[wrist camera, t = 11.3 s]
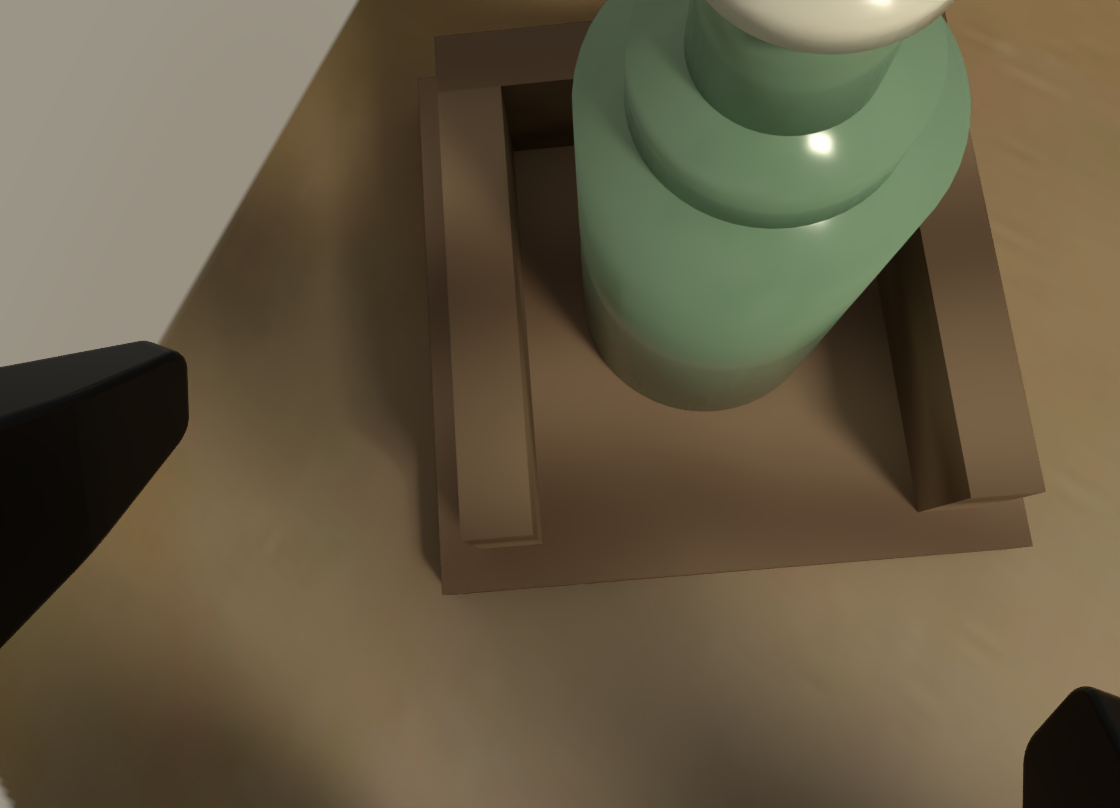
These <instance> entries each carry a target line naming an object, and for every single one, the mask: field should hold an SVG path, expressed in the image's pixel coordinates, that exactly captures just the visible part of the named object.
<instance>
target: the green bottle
mask: <svg viewBox="0 0 1120 808" xmlns="http://www.w3.org/2000/svg"><path fill="white" fill-rule="evenodd" d="M954 1H955V0H607V1H606V2H605V4H604V5H603V6H602V7H601V9H600V10H599V12H598V14H597V15H596V17H595V19H594V20H593V22H592V24H591V25H590V27H589V29H588V32H587V34H586V36H585V39H584V41H583V43H582V46H581V48H580V52H579V56H578V59H577V63H576V67H575V71H574V80H573V89H572V108H573V128H574V145H575V162H576V179H577V196H578V213H579V230H580V247H581V264H582V281H583V298H584V311H585V317H586V323H587V326H588V329H589V332H590V336H591V338H592V340H593V343H594V345H595V347H596V349H597V351H598V352H599V354H600V356H601V357H602V359H603V360H604V362H605V363H606V364H607V366H608V367H609V368H610V369H611V370H612V371H613V373H614V374H615V375H616V376H617V377H618V378H619V379H621V380H622V381H623V382H624V383H625V384H626V385H627V386H629V387H630V388H632V389H633V390H635V391H636V392H638V393H639V394H641V395H643V396H645V397H647V398H648V399H650V400H652V401H654V402H657V403H660V404H663V405H666V406H668V407H672V408H677V409H681V410H688V411H699V412H705V411H720V410H726V409H732V408H735V407H739V406H742V405H745V404H748V403H750V402H753V401H755V400H757V399H759V398H762V397H763V396H765V395H766V394H768V393H770V392H771V391H773V390H774V389H776V388H777V387H778V386H779V385H781V384H782V383H783V382H784V381H785V380H787V378H788V377H789V376H790V375H791V374H792V373H793V372H794V371H795V370H796V369H797V368H798V366H799V365H800V364H801V363H802V362H803V361H804V359H805V358H806V357H807V356H808V355H809V354H810V352H811V351H812V350H813V349H814V348H815V347H816V346H817V344H818V343H819V342H820V341H821V340H822V339H823V337H824V336H825V335H826V334H827V333H828V332H829V330H830V329H831V328H832V327H833V326H834V325H835V324H836V322H837V321H838V320H839V319H840V318H841V317H842V315H843V314H844V313H845V312H846V311H847V310H848V308H849V307H850V306H851V305H852V304H853V303H854V302H855V300H856V299H857V298H858V297H859V296H860V295H861V293H862V292H863V291H864V290H865V289H866V288H867V286H868V285H869V284H870V283H871V282H872V281H873V279H874V278H875V277H876V276H877V275H878V274H879V273H880V271H881V270H882V269H883V268H884V267H885V266H886V264H887V263H888V262H889V261H890V260H891V259H892V257H893V256H894V255H895V254H896V253H897V252H898V251H899V249H900V248H901V247H902V246H903V245H904V244H905V242H906V241H907V240H908V239H909V238H910V237H911V235H912V234H913V233H914V232H915V231H916V230H917V228H918V227H919V226H920V225H921V224H922V223H923V222H924V220H925V219H926V218H927V217H928V216H929V215H930V213H931V212H932V211H933V210H934V209H935V208H936V206H937V205H938V203H939V202H940V200H941V199H942V197H943V196H944V194H945V193H946V192H947V190H948V189H949V187H950V185H951V183H952V181H953V179H954V177H955V175H956V173H957V171H958V168H959V166H960V164H961V160H962V157H963V154H964V151H965V148H966V144H967V139H968V133H969V126H970V120H971V96H970V89H969V83H968V76H967V71H966V68H965V64H964V61H963V58H962V55H961V51H960V49H959V47H958V44H957V42H956V40H955V38H954V36H953V34H952V32H951V29H950V28H949V26H948V25H947V23H946V22H945V20H944V18H943V17H942V14H943V13H944V12H945V11H946V10H947V9H948V8H949V7H950V6H951V5H952V3H953V2H954Z"/></svg>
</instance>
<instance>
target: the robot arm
mask: <svg viewBox="0 0 1120 808" xmlns="http://www.w3.org/2000/svg"><path fill="white" fill-rule="evenodd" d="M188 421H189V405H188V377H187V364H186V361H185V359H184V357H183V356H182V355H181V354H180V353H178V352H177V351H174V350H171V349H169V348H166V347H163V346H160V345H158V344H155V343H152V342H148V341H138V342H133V343H127V344H122V345H116V346H111V347H106V348H100V349H95V350H90V351H85V352H79V353H74V354H68V355H63V356H58V357H52V358H47V359H42V360H36V361H31V362H26V363H21V364H15V365H10V366H4V367H0V648H1V647H2V646H3V645H4V644H5V643H6V642H7V641H8V640H9V639H10V638H11V637H12V636H13V635H14V634H15V633H16V632H17V631H18V630H19V629H20V628H21V627H22V626H23V625H24V623H25V622H26V621H27V620H28V619H29V618H30V617H31V616H32V615H33V614H34V613H35V612H36V611H37V610H38V609H39V608H40V607H41V606H42V605H43V604H44V603H45V602H46V601H47V600H48V599H49V598H50V597H51V596H52V595H53V594H54V592H55V591H56V590H57V589H58V588H59V587H60V586H61V585H62V584H63V583H64V582H65V581H66V580H67V579H68V578H69V577H70V576H71V575H72V574H73V573H74V572H75V571H76V570H77V569H78V568H79V566H80V565H81V564H82V563H83V562H84V561H85V560H86V559H87V558H88V557H89V556H90V554H91V553H92V552H93V551H94V550H95V549H96V548H97V546H98V545H99V544H100V543H101V542H102V540H103V539H104V538H105V537H106V536H107V534H108V533H109V532H110V531H111V529H112V528H113V527H114V526H115V524H116V523H117V522H118V521H119V519H120V518H121V517H122V515H123V514H124V513H125V512H126V510H127V509H128V508H129V506H130V505H131V504H132V503H133V501H134V500H135V499H136V497H137V496H138V495H139V494H140V492H141V491H142V490H143V489H144V487H145V486H146V485H147V483H148V482H149V481H150V480H151V478H152V477H153V476H154V474H155V473H156V472H157V471H158V469H159V468H160V467H161V466H162V464H163V463H164V462H165V460H166V459H167V458H168V457H169V455H170V454H171V453H172V451H173V450H174V449H175V448H176V446H177V445H178V444H179V442H180V441H181V439H182V438H183V436H184V434H185V432H186V429H187V426H188ZM1023 808H1120V697H1118V696H1115V695H1112V694H1110V693H1107V692H1104V691H1101V690H1099V689H1096V688H1093V687H1087V686H1083V687H1079V688H1077V689H1075V690H1073V691H1072V692H1071V693H1070V694H1069V695H1068V696H1067V697H1066V698H1065V700H1064V701H1063V702H1062V703H1061V704H1060V705H1059V706H1058V707H1057V709H1056V710H1055V711H1054V712H1053V713H1052V714H1051V715H1050V716H1049V718H1048V719H1047V720H1046V721H1045V722H1044V723H1043V724H1042V725H1041V727H1040V728H1039V729H1038V730H1037V731H1036V732H1035V733H1034V735H1033V736H1032V737H1031V739H1030V741H1029V743H1028V745H1027V748H1026V751H1025V755H1024V763H1023Z"/></svg>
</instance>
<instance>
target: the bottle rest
mask: <svg viewBox="0 0 1120 808" xmlns="http://www.w3.org/2000/svg"><path fill="white" fill-rule="evenodd" d="M942 17H943V18H944V20H945V22H946V23H947V20H946V15H945V12H944V13H943V14H942ZM592 22H593V21H586V22H576V23H566V24H556V25H546V26H536V27H527V28H517V29H507V30H497V31H487V32H478V33H468V34H458V35H448V36H438V37H435V55H436V74H437V77H431V78H421V79H418V88H419V110H420V131H421V153H422V174H423V196H424V217H425V239H426V260H427V282H428V304H429V325H430V347H431V368H432V390H433V411H434V433H435V454H436V476H437V497H438V519H439V540H440V562H441V583H442V595H454V594H466V593H478V592H490V591H503V590H515V589H527V588H539V587H551V586H564V585H576V584H588V583H600V582H612V581H625V580H637V579H649V578H661V577H673V576H686V575H698V574H710V573H722V572H734V571H747V570H759V569H771V568H783V567H795V566H807V565H820V564H832V563H844V562H856V561H868V560H881V559H893V558H905V557H917V556H929V555H942V554H954V553H966V552H978V551H990V550H1003V549H1013V548H1021V547H1029V546H1033V545H1032V540H1031V535H1030V530H1029V525H1028V520H1027V515H1026V510H1025V506H1024V501H1023V497H1026V496H1030V495H1034V494H1038V493H1042V492H1046V491H1045V486H1044V481H1043V476H1042V472H1041V467H1040V462H1039V457H1038V453H1037V448H1036V443H1035V438H1034V434H1033V429H1032V424H1031V419H1030V415H1029V410H1028V405H1027V400H1026V396H1025V391H1024V386H1023V381H1022V376H1021V372H1020V367H1019V362H1018V357H1017V353H1016V348H1015V343H1014V338H1013V334H1012V329H1011V324H1010V319H1009V315H1008V310H1007V305H1006V300H1005V296H1004V291H1003V286H1002V281H1001V277H1000V272H999V267H998V262H997V258H996V253H995V248H994V243H993V239H992V234H991V229H990V224H989V219H988V215H987V210H986V205H985V200H984V196H983V191H982V186H981V181H980V177H979V172H978V167H977V162H976V158H975V153H974V148H973V143H972V139H971V134H970V129H969V133H968V139H967V144H966V148H965V151H964V154H963V157H962V160H961V164H960V166H959V168H958V171H957V173H956V175H955V177H954V179H953V181H952V183H951V185H950V187H949V189H948V190H947V192H946V193H945V194H944V196H943V197H942V199H941V200H940V202H939V203H938V205H937V206H936V208H935V209H934V210H933V211H932V212H931V213H930V215H929V216H928V217H927V218H926V219H925V220H924V222H923V223H922V224H921V225H920V226H919V227H918V228H917V230H916V231H915V232H914V233H913V234H912V235H911V237H910V238H909V239H908V240H907V241H906V242H905V244H904V245H903V246H902V247H901V248H900V249H899V251H898V252H897V253H896V254H895V255H894V256H893V257H892V259H891V260H890V261H889V262H888V263H887V264H886V266H885V267H884V268H883V269H882V270H881V271H880V273H879V274H878V275H877V276H876V277H875V278H874V279H873V281H872V282H871V283H870V284H869V285H868V286H867V288H866V289H865V290H864V291H863V292H862V293H861V295H860V296H859V297H858V298H857V299H856V300H855V302H854V303H853V304H852V305H851V306H850V307H849V308H848V310H847V311H846V312H845V313H844V314H843V315H842V317H841V318H840V319H839V320H838V321H837V322H836V324H835V325H834V326H833V327H832V328H831V329H830V330H829V332H828V333H827V334H826V335H825V336H824V337H823V339H822V340H821V341H820V342H819V343H818V344H817V346H816V347H815V348H814V349H813V350H812V351H811V352H810V354H809V355H808V356H807V357H806V358H805V359H804V361H803V362H802V363H801V364H800V365H799V366H798V368H797V369H796V370H795V371H794V372H793V373H792V374H791V375H790V376H789V377H788V378H787V380H785V381H784V382H783V383H782V384H781V385H779V386H778V387H777V388H776V389H774V390H773V391H771V392H770V393H768V394H766V395H765V396H763V397H762V398H759V399H757V400H755V401H753V402H750V403H748V404H745V405H742V406H739V407H735V408H732V409H726V410H720V411H705V412H699V411H688V410H681V409H677V408H672V407H668V406H666V405H663V404H660V403H657V402H654V401H652V400H650V399H648V398H647V397H645V396H643V395H641V394H639V393H638V392H636V391H635V390H633V389H632V388H630V387H629V386H627V385H626V384H625V383H624V382H623V381H622V380H621V379H619V378H618V377H617V376H616V375H615V374H614V373H613V371H612V370H611V369H610V368H609V367H608V366H607V364H606V363H605V362H604V360H603V359H602V357H601V356H600V354H599V352H598V351H597V349H596V347H595V345H594V343H593V340H592V338H591V336H590V332H589V329H588V326H587V323H586V317H585V311H584V298H583V281H582V264H581V247H580V230H579V213H578V196H577V179H576V162H575V145H574V128H573V108H572V89H573V80H574V71H575V67H576V63H577V59H578V56H579V52H580V48H581V46H582V43H583V41H584V39H585V36H586V34H587V32H588V29H589V27H590V25H591V24H592ZM947 25H948V24H947Z"/></svg>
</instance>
